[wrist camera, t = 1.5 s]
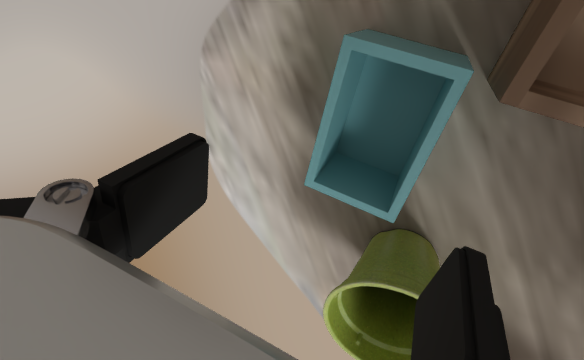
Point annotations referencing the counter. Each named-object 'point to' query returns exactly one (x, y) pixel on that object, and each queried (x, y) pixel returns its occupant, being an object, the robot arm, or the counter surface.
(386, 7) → the counter surface
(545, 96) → the crate large
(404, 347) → the plant pot
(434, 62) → the box
